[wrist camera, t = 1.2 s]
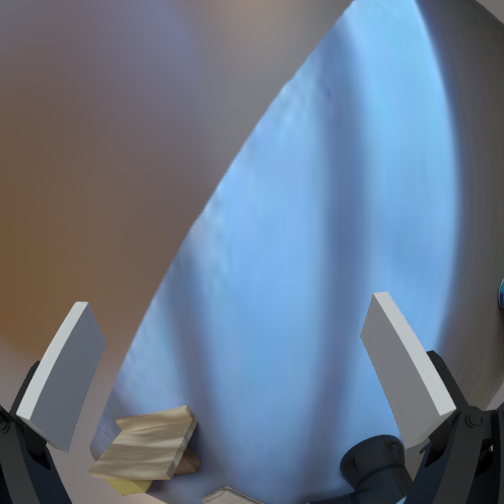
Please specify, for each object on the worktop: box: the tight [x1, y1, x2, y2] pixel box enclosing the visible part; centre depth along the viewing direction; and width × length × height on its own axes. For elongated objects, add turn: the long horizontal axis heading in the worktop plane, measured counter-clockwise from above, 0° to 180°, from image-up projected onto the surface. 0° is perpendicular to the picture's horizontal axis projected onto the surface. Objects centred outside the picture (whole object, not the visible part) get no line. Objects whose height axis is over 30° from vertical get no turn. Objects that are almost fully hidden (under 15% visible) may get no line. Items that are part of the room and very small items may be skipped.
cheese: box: [104, 478, 153, 496], centre depth 45 cm, size 10×11×10 cm
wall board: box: [88, 405, 201, 480], centre depth 40 cm, size 16×20×18 cm
